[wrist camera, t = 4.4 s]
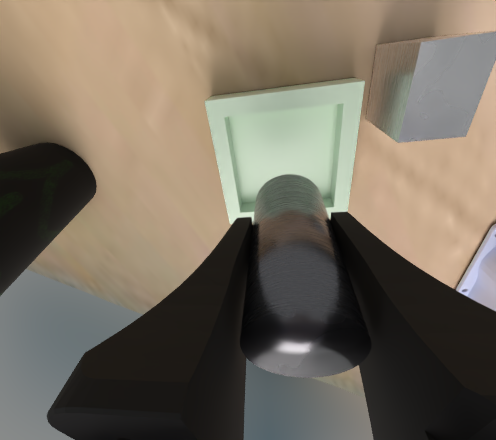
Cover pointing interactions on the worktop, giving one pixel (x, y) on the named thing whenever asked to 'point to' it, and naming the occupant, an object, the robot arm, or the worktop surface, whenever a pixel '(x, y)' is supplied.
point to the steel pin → (299, 287)
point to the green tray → (286, 140)
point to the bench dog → (430, 85)
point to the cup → (37, 202)
